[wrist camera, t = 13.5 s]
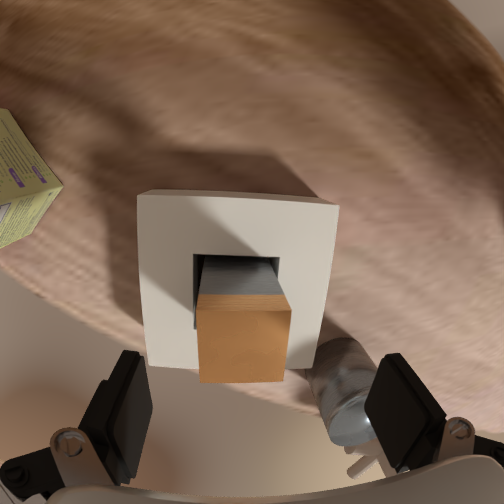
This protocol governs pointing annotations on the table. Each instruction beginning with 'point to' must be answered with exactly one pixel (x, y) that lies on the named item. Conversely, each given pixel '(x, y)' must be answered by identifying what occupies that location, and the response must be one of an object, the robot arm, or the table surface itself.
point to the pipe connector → (369, 459)
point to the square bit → (241, 321)
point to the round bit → (343, 389)
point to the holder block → (230, 243)
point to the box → (22, 183)
